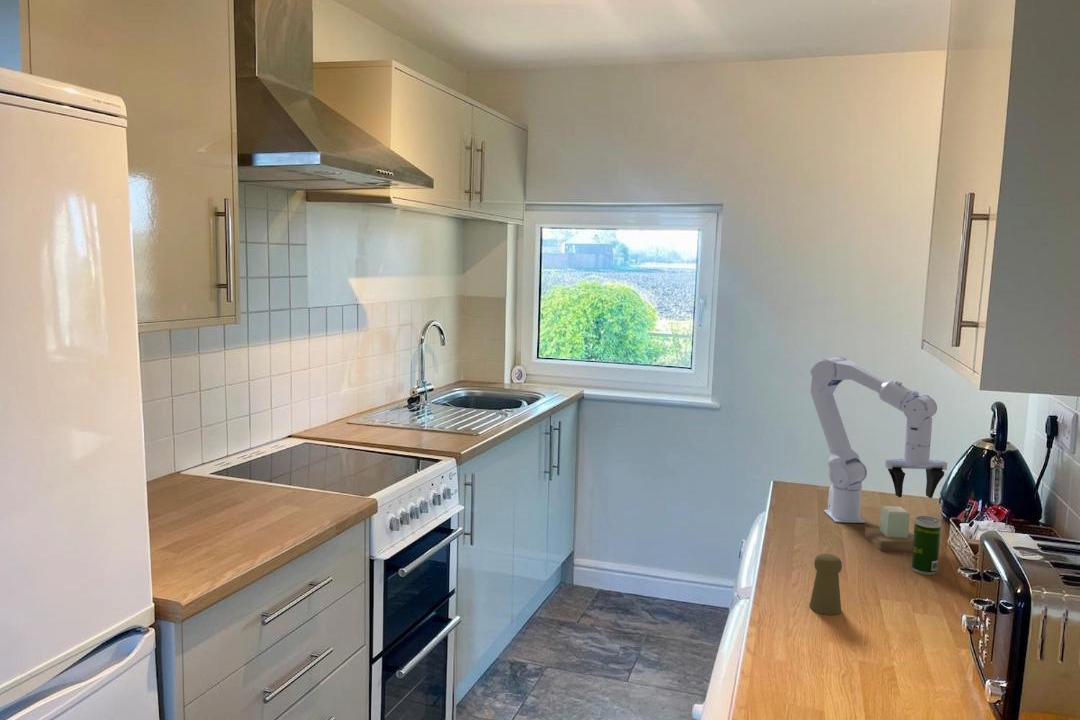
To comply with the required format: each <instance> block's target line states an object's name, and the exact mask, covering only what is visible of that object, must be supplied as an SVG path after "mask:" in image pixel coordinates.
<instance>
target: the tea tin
mask: <svg viewBox="0 0 1080 720" xmlns="http://www.w3.org/2000/svg"><path fill="white" fill-rule="evenodd" d="M880 510H881V511H880V522H879V528H880V531H881V532H882V533H883V534H884V535H885V536H886V537H894V538H908V531H909V529H910V518H911V517H910V516H911V515H910V513H909V512H908V510H907V509H905V508H903V507H902V506H896V505H895V506H892V505H891V506H889V505H883V506H881V508H880Z"/></svg>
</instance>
